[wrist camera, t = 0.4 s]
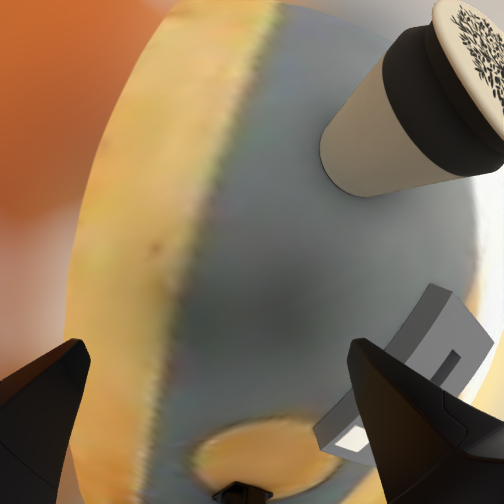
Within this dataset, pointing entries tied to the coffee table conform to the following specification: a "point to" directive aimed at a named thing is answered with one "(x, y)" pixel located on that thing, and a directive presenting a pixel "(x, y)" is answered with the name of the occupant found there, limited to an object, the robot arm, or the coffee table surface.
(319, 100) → the coffee table surface
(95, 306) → the coffee table surface
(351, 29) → the coffee table surface
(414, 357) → the block
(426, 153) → the travel mug
